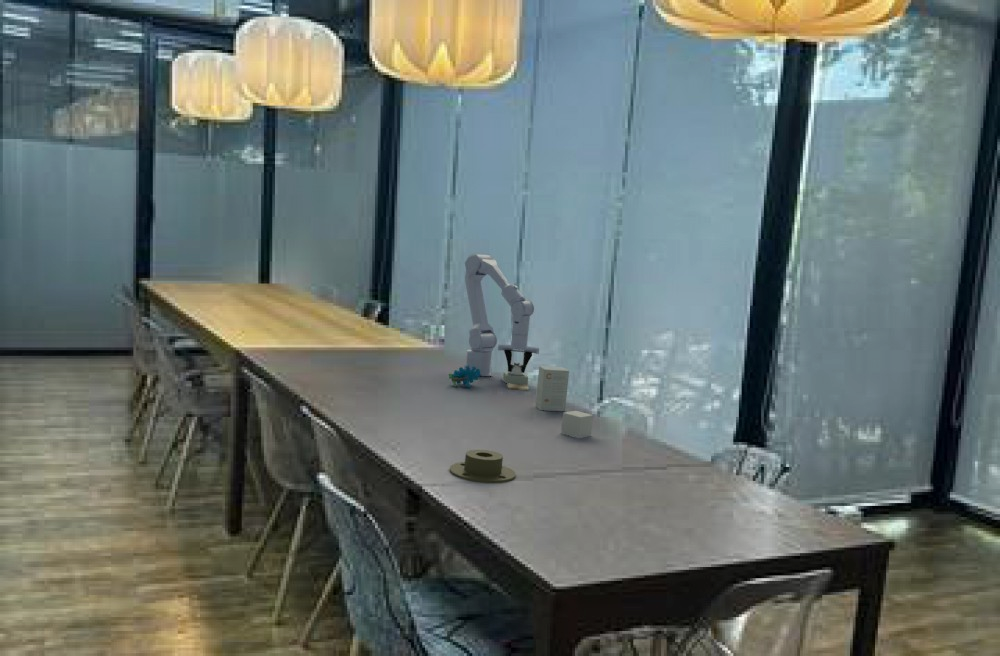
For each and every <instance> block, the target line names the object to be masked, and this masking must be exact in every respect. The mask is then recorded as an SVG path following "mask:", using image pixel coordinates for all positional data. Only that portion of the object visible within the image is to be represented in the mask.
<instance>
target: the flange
mask: <svg viewBox="0 0 1000 656" xmlns="http://www.w3.org/2000/svg"><path fill="white" fill-rule="evenodd" d="M503 458H504V455H503V454H502V453H500V452H498V451H493V450H489V449H488V450H487V449H471V450H467V451H466V452H465V458H464V461H460V462H456V463H453V464H452V465H450V467H449V473H450V474H451V475H453V476H454V477H457V478H459V479H462V480H465V481H470V482H475V483H482V484H483V483H484V484H500V483H502V484H503V483H509V482H512V481H514V480H515V479H516V475H517V473H516V472H515V470H513V469H512V468H510V467H507V466H505V465H503V460H504V459H503Z"/></svg>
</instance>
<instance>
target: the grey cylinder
mask: <svg viewBox="0 0 1000 656" xmlns="http://www.w3.org/2000/svg"><path fill="white" fill-rule="evenodd" d="M522 370H523V364H520V362H514V363H511V371H510V375H514V376H522Z"/></svg>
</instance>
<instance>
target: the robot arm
mask: <svg viewBox="0 0 1000 656" xmlns="http://www.w3.org/2000/svg"><path fill="white" fill-rule="evenodd" d="M464 266H465V275H464V281H465V282H464V283H465V287H466V292H467V293H466V294H467V299H468V303H469V309H470V315H471V321H472V326H471V328H470V329H469V331H468V333H469V338H468V343H469V346H470V348H471V349H466V351H465V352H466V354H465V363H464V368H463V369H465V370H466V366H469V367H470V370H472V367H473V366H474V367H476V369H480V374H481V376H480V377H490V376H491V377H492V373H491V364H492V354H493V351H494V348H496V346H497V350H498V351H503V352H504V355H505V358H506V362H507V364H506V365H507V372H510V371H511V364H512V357H513V352H517V353H519V352H520V353H523V360H522V361H523V362H522V365H523V370H522V373H525V372H526V368H527V365H528V364H529V362H530V360H531V358H532V357H533V354H536V355H537V354H538V355H539V353H540V348H539V347H533V346H528V340H529V339H528V338H529V330H530V329H529V328H530V327H529V326H530V321H531V320H530V319H531V316H532V315H533V314H534V310H535V307H534V304H533V301H531V300H529V299H526V297H525V296H524V295H523V294H522V293H521V292H520V290H519V287H518V286H517V285H515V284H514V283H513V284H512V283H510V282H509V280H507V278H506V277H505V275H504V273H503V272H502V271H501V269H500V268H499V266H498V262H497V261H496V259H495V258H494V256H492V255H491V254H478V253H477V254H476V253H471V254H469V256H468V257H467V258H466V260H465V261H464ZM487 275H488V276H490V277H491V279H492V280H493V282H495V283H496V285H497V286H498V287H499V288H500V289H501V296H502V297H503V298H504V300H505V301H506V302H507V304H508V305H509V306H510V313H511V315H512V321H513V322H512V329H511V330H512V331H511V339H510V340H511V341H510V344H500V343H499V344H498V345H497V343H498V338H497V335H496V334H495V331H494V328H493V327H492V325H491V324H489V322H488V315H487V309H486V306H485V305H486V304H485V300H484V294H483V289H482V283H481V282H482V280H483V279H484V278H485V277H486V276H487ZM475 371H476V370H475ZM476 374H477V373H476Z"/></svg>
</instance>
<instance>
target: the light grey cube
mask: <svg viewBox="0 0 1000 656" xmlns="http://www.w3.org/2000/svg"><path fill="white" fill-rule="evenodd" d="M593 419H594V414H590V413H587V412H582V411H578V410H571V411H566V412H565V411H563V414H562V422H561V431H560V434H561V433H562V435H565V434H566V435H565V436H568V435H569V436H568V437H573V438H575V439H582V438H587V437H591V436H592V430H593Z"/></svg>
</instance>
